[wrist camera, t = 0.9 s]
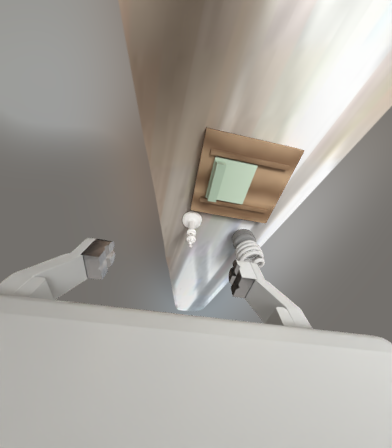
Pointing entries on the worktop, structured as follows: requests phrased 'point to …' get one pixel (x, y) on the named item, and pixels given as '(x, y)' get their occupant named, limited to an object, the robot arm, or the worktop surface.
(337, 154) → the worktop surface
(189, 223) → the chess piece
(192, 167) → the worktop surface
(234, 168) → the cover
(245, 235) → the light bulb
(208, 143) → the board
